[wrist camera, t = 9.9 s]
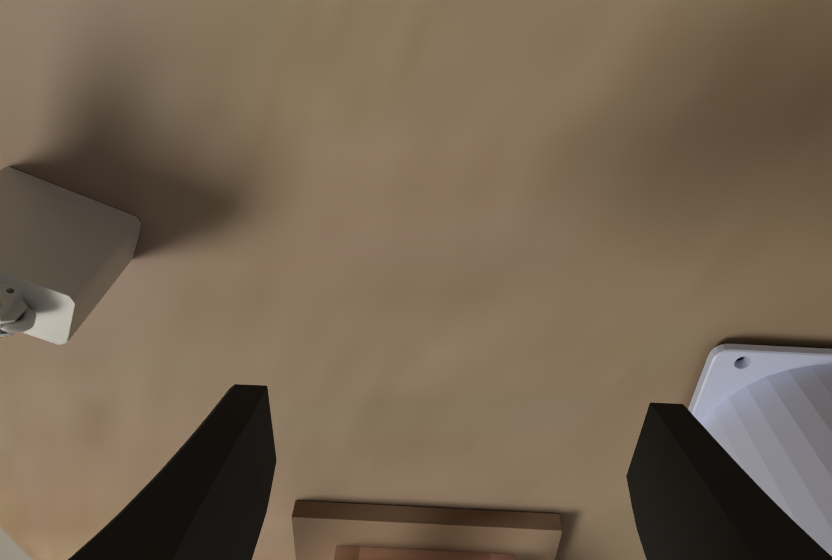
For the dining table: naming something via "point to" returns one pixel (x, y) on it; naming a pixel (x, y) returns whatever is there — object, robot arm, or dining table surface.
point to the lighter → (56, 255)
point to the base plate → (421, 533)
